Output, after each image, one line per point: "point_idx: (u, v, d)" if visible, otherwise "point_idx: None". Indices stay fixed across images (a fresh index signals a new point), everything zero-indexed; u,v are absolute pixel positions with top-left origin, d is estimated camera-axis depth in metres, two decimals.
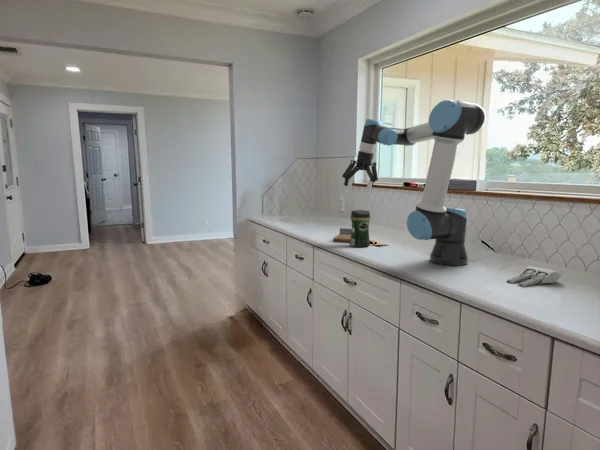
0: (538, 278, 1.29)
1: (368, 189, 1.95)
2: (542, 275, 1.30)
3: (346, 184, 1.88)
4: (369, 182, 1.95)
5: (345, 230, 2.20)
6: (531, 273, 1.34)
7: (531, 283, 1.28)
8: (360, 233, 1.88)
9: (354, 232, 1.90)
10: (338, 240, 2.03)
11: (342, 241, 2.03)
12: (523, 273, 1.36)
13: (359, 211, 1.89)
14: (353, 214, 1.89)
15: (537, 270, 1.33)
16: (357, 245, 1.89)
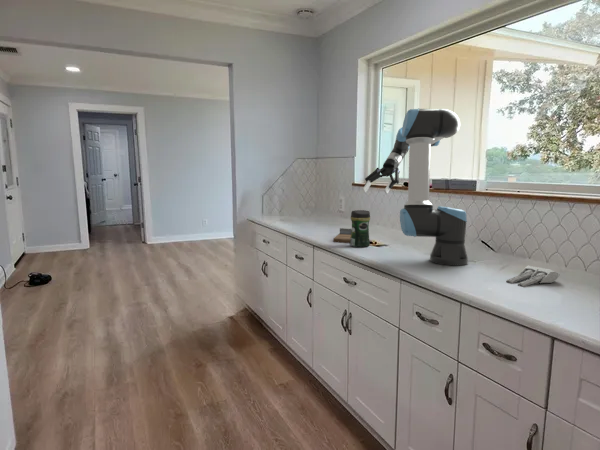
0: (537, 278, 1.29)
1: None
2: (541, 275, 1.31)
3: (365, 184, 2.04)
4: None
5: (345, 230, 2.20)
6: (530, 273, 1.34)
7: (531, 283, 1.28)
8: (360, 233, 1.88)
9: (354, 232, 1.90)
10: (338, 240, 2.03)
11: (342, 241, 2.03)
12: (522, 273, 1.37)
13: (359, 211, 1.89)
14: (353, 214, 1.89)
15: (536, 270, 1.34)
16: (357, 245, 1.89)
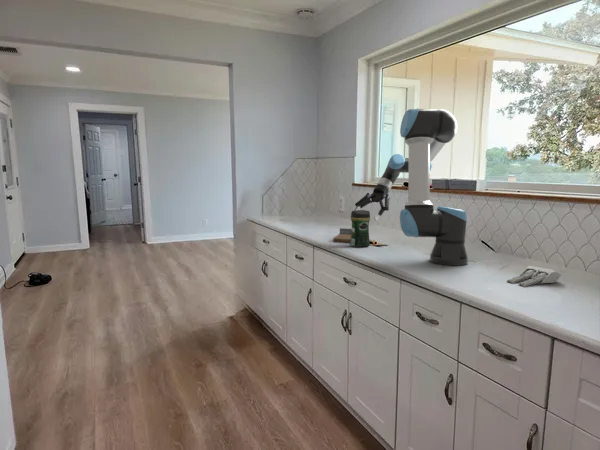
0: (538, 278, 1.29)
1: None
2: (542, 275, 1.30)
3: None
4: None
5: (345, 230, 2.20)
6: (531, 273, 1.34)
7: (531, 283, 1.28)
8: (360, 233, 1.88)
9: (354, 232, 1.90)
10: (338, 240, 2.03)
11: (342, 241, 2.03)
12: (523, 273, 1.36)
13: (359, 211, 1.89)
14: (353, 214, 1.89)
15: (537, 270, 1.33)
16: (357, 245, 1.89)
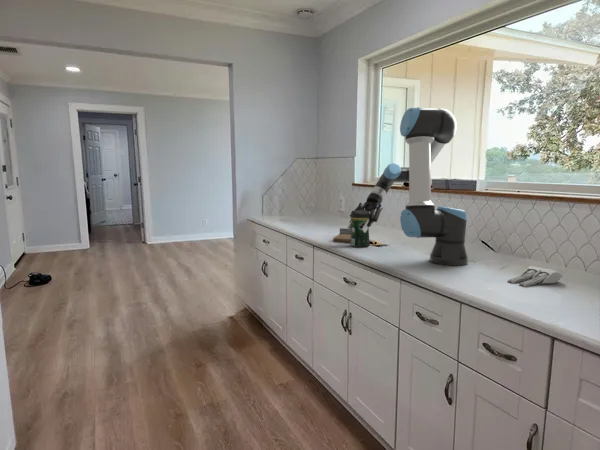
0: (539, 278, 1.29)
1: None
2: (543, 275, 1.30)
3: (350, 221, 1.95)
4: None
5: (345, 230, 2.20)
6: (532, 273, 1.34)
7: (532, 283, 1.28)
8: (360, 233, 1.88)
9: (354, 232, 1.90)
10: (338, 240, 2.03)
11: (342, 241, 2.03)
12: (524, 273, 1.36)
13: (359, 211, 1.89)
14: (353, 214, 1.89)
15: (538, 270, 1.33)
16: (357, 245, 1.89)
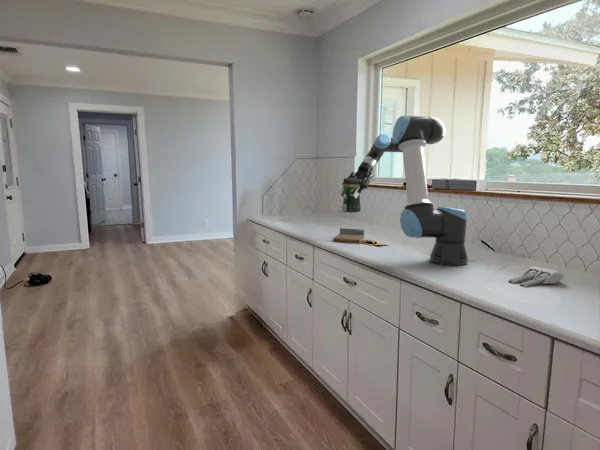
0: (540, 278, 1.29)
1: None
2: (544, 275, 1.30)
3: None
4: None
5: (345, 230, 2.20)
6: (534, 273, 1.33)
7: (533, 283, 1.28)
8: (351, 199, 2.01)
9: (346, 198, 2.02)
10: (338, 240, 2.03)
11: (342, 241, 2.03)
12: (526, 273, 1.36)
13: (350, 178, 2.02)
14: (345, 181, 2.01)
15: (540, 270, 1.33)
16: (349, 210, 2.02)
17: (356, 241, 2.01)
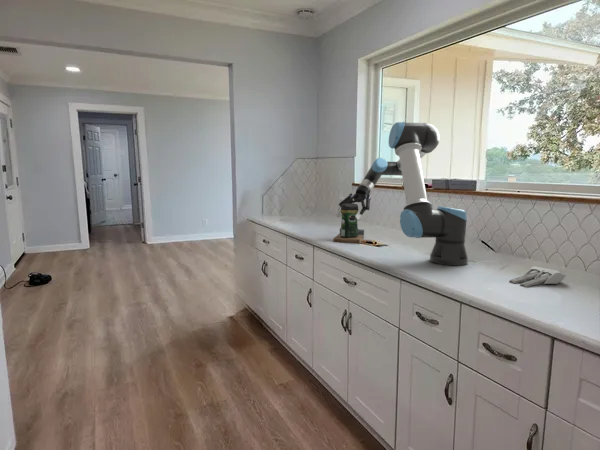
0: (541, 278, 1.29)
1: None
2: (546, 275, 1.30)
3: (339, 209, 2.13)
4: None
5: None
6: (535, 273, 1.33)
7: (534, 283, 1.27)
8: (349, 225, 2.05)
9: (344, 223, 2.06)
10: (338, 240, 2.03)
11: (342, 241, 2.03)
12: (527, 273, 1.36)
13: (348, 204, 2.06)
14: (343, 207, 2.05)
15: (541, 270, 1.33)
16: (347, 235, 2.05)
17: (356, 241, 2.01)
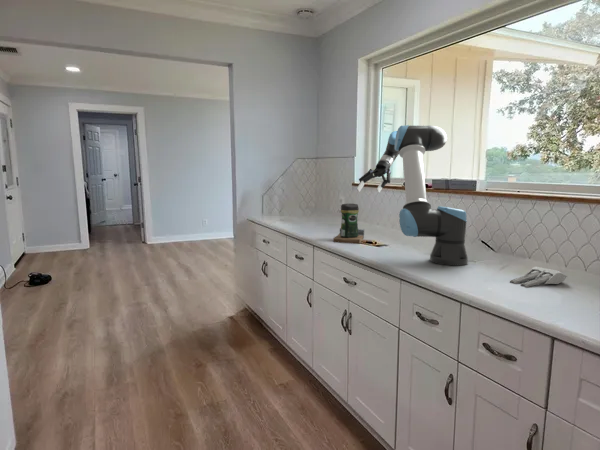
0: (542, 279, 1.28)
1: None
2: (547, 276, 1.29)
3: None
4: None
5: None
6: (536, 274, 1.33)
7: (534, 283, 1.27)
8: (349, 225, 2.05)
9: (344, 224, 2.06)
10: (338, 240, 2.03)
11: (342, 241, 2.03)
12: (528, 274, 1.36)
13: (348, 204, 2.05)
14: (343, 207, 2.05)
15: (542, 271, 1.32)
16: (347, 236, 2.05)
17: (356, 241, 2.01)
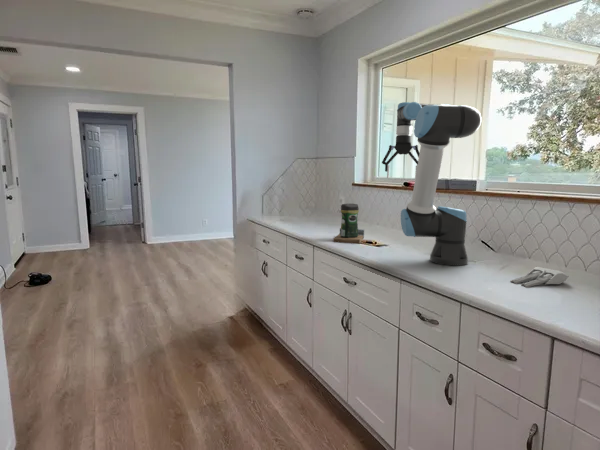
0: (543, 279, 1.28)
1: (415, 174, 1.88)
2: (548, 276, 1.29)
3: (386, 170, 1.91)
4: None
5: None
6: (537, 274, 1.33)
7: (535, 284, 1.27)
8: (349, 225, 2.05)
9: (344, 224, 2.06)
10: (338, 240, 2.03)
11: (342, 241, 2.03)
12: (529, 274, 1.35)
13: (348, 204, 2.05)
14: (343, 207, 2.05)
15: (543, 271, 1.32)
16: (347, 236, 2.05)
17: (356, 241, 2.01)
